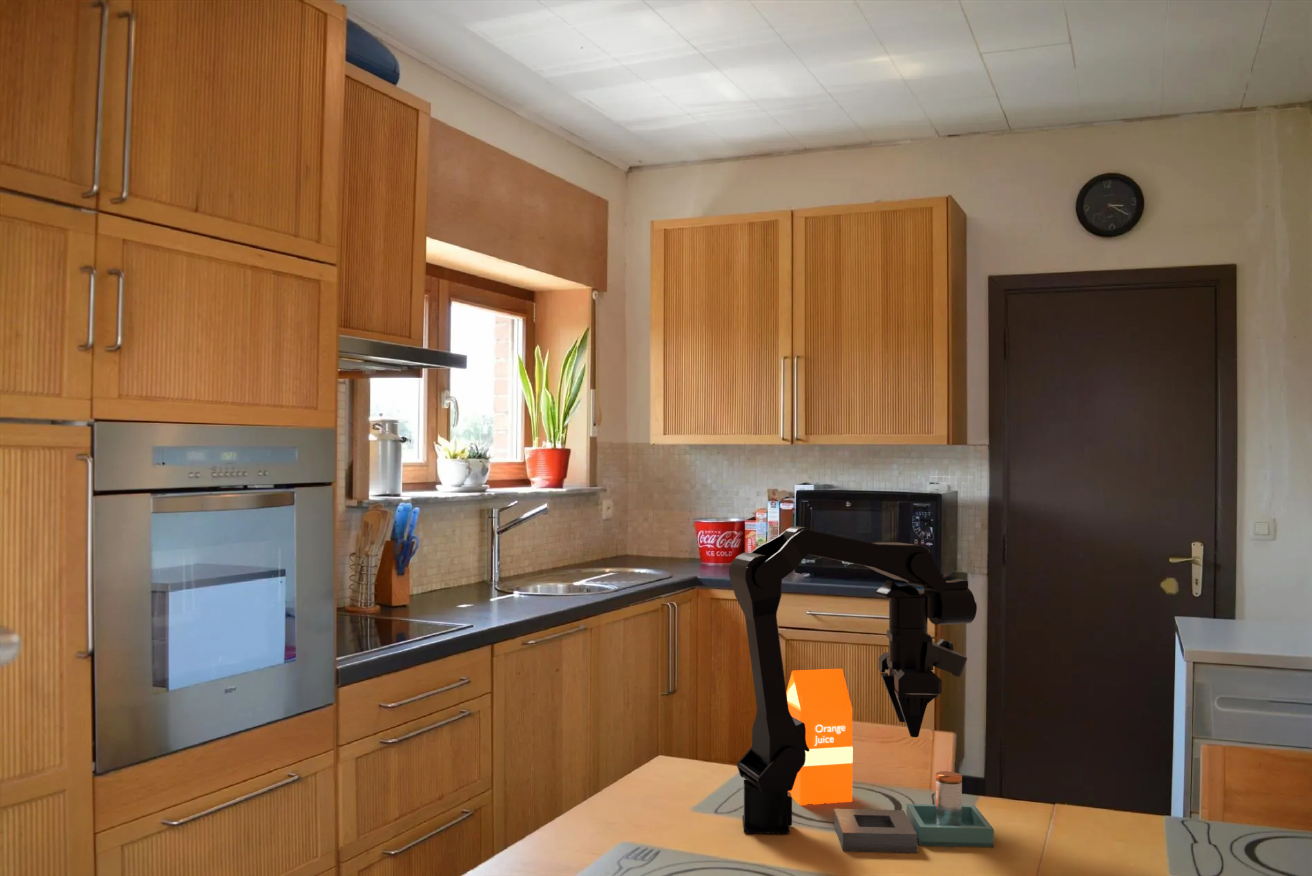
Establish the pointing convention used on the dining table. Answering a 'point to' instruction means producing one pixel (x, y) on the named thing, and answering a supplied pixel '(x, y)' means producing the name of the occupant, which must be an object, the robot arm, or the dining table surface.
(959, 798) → the pin
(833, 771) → the orange juice
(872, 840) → the grey flat square frame
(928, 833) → the tray
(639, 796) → the dining table surface
